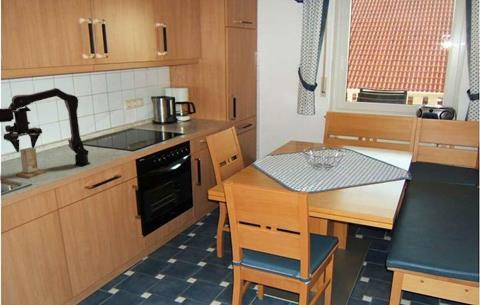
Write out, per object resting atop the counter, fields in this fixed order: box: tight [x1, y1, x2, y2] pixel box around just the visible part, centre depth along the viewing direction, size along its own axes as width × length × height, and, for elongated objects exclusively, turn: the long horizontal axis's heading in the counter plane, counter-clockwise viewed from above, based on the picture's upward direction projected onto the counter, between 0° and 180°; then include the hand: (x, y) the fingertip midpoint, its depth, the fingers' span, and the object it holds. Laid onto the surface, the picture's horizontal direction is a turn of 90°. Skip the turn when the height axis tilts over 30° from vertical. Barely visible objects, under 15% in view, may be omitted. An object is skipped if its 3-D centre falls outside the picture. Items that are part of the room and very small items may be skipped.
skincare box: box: [19, 147, 39, 173], centre depth 214 cm, size 6×4×12 cm
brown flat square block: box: [15, 168, 47, 179], centre depth 215 cm, size 10×10×2 cm
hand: (25, 149), depth 212 cm, fingers open, 9 cm apart
